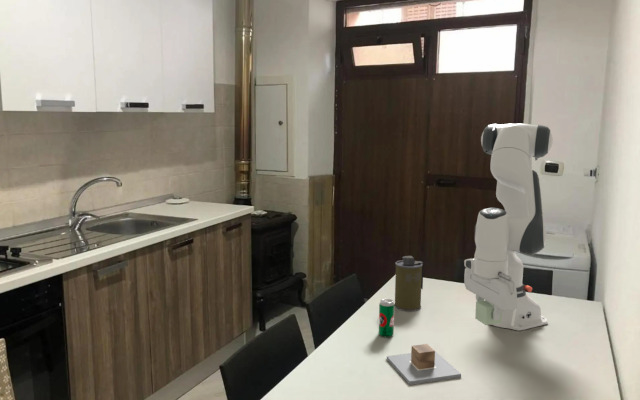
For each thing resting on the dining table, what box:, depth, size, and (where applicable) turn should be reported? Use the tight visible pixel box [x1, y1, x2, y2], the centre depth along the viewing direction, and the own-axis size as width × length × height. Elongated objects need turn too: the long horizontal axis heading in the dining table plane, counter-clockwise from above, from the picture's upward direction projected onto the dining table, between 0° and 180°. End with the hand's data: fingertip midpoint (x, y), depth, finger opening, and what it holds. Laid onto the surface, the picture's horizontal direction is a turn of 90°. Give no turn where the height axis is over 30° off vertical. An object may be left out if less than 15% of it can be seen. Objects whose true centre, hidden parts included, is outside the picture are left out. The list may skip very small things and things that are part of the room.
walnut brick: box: [410, 343, 436, 369], centre depth 152 cm, size 5×5×5 cm
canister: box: [394, 255, 424, 312], centre depth 202 cm, size 11×10×20 cm
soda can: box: [378, 298, 395, 338], centre depth 175 cm, size 5×5×12 cm
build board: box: [386, 349, 462, 386], centre depth 152 cm, size 16×16×1 cm
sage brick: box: [475, 300, 502, 326], centre depth 145 cm, size 5×5×5 cm
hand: (488, 315), depth 145 cm, fingers closed on sage brick, 5 cm apart
